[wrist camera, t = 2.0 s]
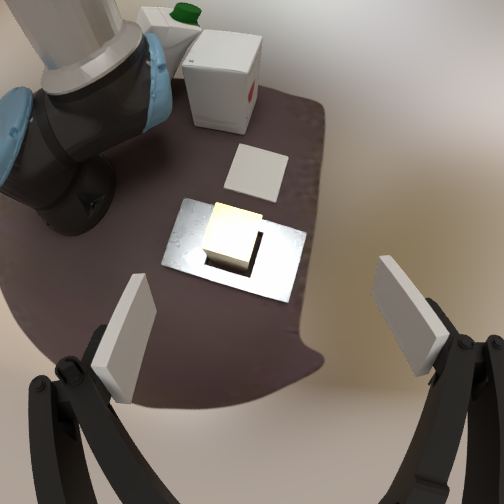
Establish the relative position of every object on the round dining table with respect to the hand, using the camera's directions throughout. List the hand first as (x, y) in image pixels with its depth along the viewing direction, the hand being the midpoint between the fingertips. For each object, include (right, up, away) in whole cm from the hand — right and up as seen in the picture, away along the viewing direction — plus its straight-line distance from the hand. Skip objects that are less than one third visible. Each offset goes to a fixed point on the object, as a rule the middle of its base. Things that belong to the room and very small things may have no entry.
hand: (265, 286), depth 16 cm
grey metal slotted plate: (-3, +2, +25) cm, 26 cm away
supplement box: (-5, +26, +30) cm, 40 cm away
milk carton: (-21, +29, +27) cm, 45 cm away
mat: (0, +14, +28) cm, 31 cm away
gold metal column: (-3, +2, +25) cm, 26 cm away
